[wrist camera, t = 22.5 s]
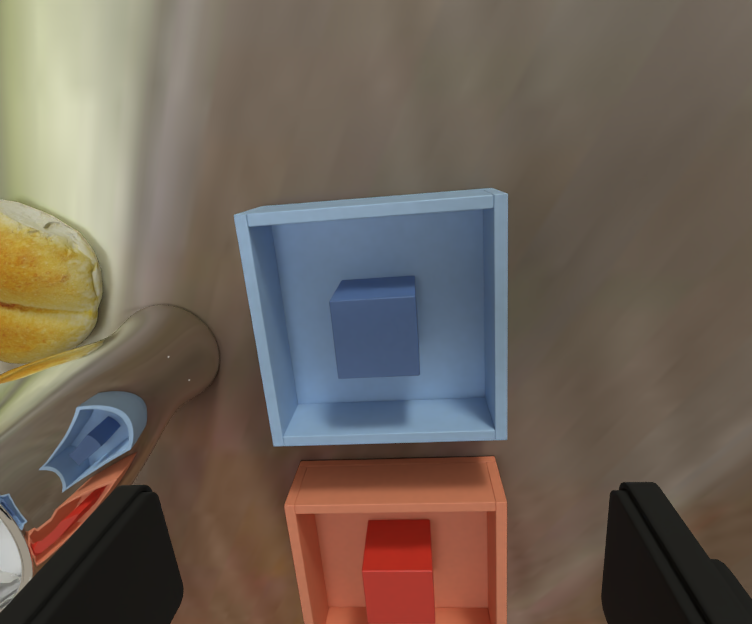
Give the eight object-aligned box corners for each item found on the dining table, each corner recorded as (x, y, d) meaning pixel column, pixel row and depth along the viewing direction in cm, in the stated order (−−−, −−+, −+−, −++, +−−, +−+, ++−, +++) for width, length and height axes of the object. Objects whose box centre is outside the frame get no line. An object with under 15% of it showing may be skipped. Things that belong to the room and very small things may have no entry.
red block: (430, 518, 30) (432, 571, 26) (433, 567, 31) (435, 624, 27) (367, 519, 30) (361, 571, 26) (373, 568, 31) (367, 624, 28)
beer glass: (177, 423, 30) (-39, 664, 16) (92, 345, 28) (-228, 531, 14) (251, 358, 28) (82, 565, 14) (163, 272, 27) (-122, 402, 12)
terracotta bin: (494, 455, 29) (507, 502, 25) (495, 606, 32) (506, 667, 29) (300, 460, 30) (283, 505, 26) (322, 605, 34) (311, 663, 30)
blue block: (415, 275, 25) (415, 296, 21) (419, 344, 26) (420, 376, 22) (341, 279, 25) (328, 300, 22) (348, 348, 27) (337, 379, 23)
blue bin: (492, 187, 24) (508, 193, 20) (494, 400, 28) (507, 440, 24) (261, 206, 25) (233, 214, 21) (292, 408, 29) (273, 446, 25)
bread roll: (-39, 316, 29) (-108, 340, 25) (-12, 180, 26) (-85, 184, 22) (88, 375, 29) (39, 407, 25) (128, 248, 26) (79, 263, 23)
